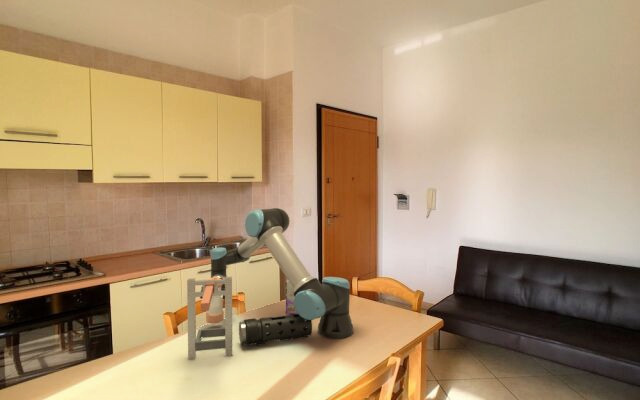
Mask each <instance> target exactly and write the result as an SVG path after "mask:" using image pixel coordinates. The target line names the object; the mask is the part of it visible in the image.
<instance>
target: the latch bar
mask: <svg viewBox="0 0 640 400" xmlns="http://www.w3.org/2000/svg"><path fill="white" fill-rule="evenodd" d="M207 280H218V279H211V278H209V279H207ZM213 291H214V285H206V288H205V292H204V295H203V298H202V299H201V302H200V312H207V311H209V308H210V304H211V300H212V295H213ZM217 291H218V284H217Z"/></svg>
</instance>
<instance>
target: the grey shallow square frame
mask: <svg viewBox="0 0 640 400" xmlns="http://www.w3.org/2000/svg"><path fill="white" fill-rule="evenodd" d="M201 337H203V338H214V337H225V327H215V328H214V327H213V328H202V329H201V328H200V329H198V331H197V333H196V351H204V350H205V351H206V350H216V349H225V338H219V339H211V340H210V339H209V340H202V338H201Z"/></svg>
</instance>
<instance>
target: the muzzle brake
mask: <svg viewBox="0 0 640 400" xmlns="http://www.w3.org/2000/svg"><path fill="white" fill-rule="evenodd" d="M312 321H313V320H307V319H304V318H302V317H301V316H300V315H299V314H292V315H291V314H285V315H277V316H270V317H269V316H268V317H260V318H259V319H256V318H247V319H246V318H245V319H244V320H243V321H240V322H238V336H239V337H238V338H239V343H240V345H245V346H250V345H256V346H259V345H265V344H266V343H267V342H273V341H274V342H275V341H279V342H282V341H289V340H296V339H302V338H303V339H304V338H308V337H309V336H311V335H312V332H313V322H312Z"/></svg>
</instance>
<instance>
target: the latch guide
mask: <svg viewBox="0 0 640 400" xmlns="http://www.w3.org/2000/svg"><path fill="white" fill-rule="evenodd" d="M186 284H187V285H186V288H187V290H186V291H187V292H186V293H187V297H186V298H187V300H186V301H187V302H186V303H187V360H188V361H190V360H191V361H192V360H196V358H197V350H196V337H197V333H196V332H197V331H196V328H197V327H196V325H197V324H196V322H197V321H196V318H197V317H196V298H200V297H203V295H204V292H205V288H206V285H214V291H213V295H212V296H222V295H225V299H224V302H225V303H224V311H225V312H224V320H225V321H224V322H225V324H224V325H225V327H224V328H225V336H224V337H225V338H224V339H225V348H224V349H225V357H233V276H227V277H225V279H219V280H208V279H201V280H199V279H198V280H196V278H194V277H193V278H188V279H187V280H186ZM217 284H225V290H224V291H217ZM196 286H202V287H203V292H201V291H196Z"/></svg>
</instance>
